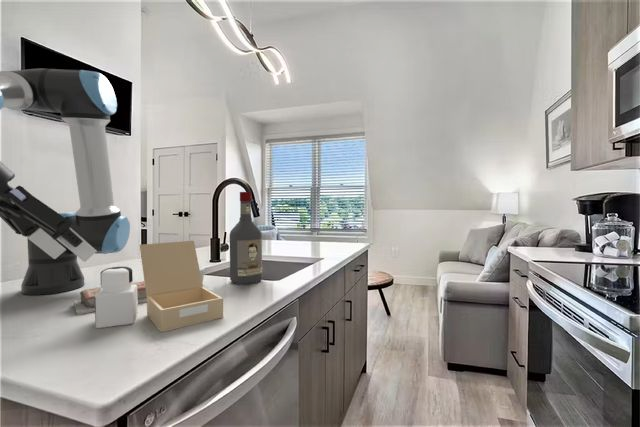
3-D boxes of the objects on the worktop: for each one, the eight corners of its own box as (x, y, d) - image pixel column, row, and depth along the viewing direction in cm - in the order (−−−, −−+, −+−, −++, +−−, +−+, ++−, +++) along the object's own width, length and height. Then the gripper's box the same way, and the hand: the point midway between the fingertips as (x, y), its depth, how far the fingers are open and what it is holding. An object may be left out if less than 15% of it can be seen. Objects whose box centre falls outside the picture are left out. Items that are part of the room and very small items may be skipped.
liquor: (227, 281, 109) (226, 192, 108) (251, 276, 116) (250, 192, 114) (240, 286, 103) (239, 191, 102) (265, 281, 109) (264, 192, 108)
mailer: (141, 307, 82) (139, 244, 81) (194, 297, 90) (193, 240, 90) (161, 332, 66) (159, 254, 66) (223, 317, 75) (222, 248, 74)
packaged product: (149, 277, 96) (159, 284, 88) (149, 293, 96) (159, 301, 89) (72, 288, 84) (76, 296, 76) (73, 306, 84) (77, 317, 77)
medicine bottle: (102, 318, 75) (101, 266, 74) (138, 313, 77) (136, 263, 77) (95, 329, 68) (93, 272, 68) (134, 324, 71) (132, 269, 70)
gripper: (-70, 190, 58) (33, 266, 70) (-31, 176, 45) (88, 273, 57) (-26, 166, 63) (63, 241, 75) (21, 147, 50) (120, 242, 62)
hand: (74, 255), depth 66 cm, fingers open, 13 cm apart
